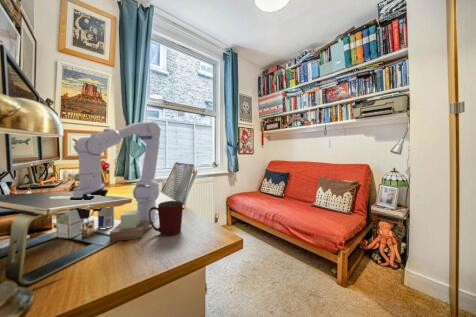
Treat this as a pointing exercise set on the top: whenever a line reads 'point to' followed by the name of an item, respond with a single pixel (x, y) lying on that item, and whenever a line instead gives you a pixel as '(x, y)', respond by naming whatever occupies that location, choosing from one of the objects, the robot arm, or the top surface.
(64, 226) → the syrup box
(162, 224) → the mug
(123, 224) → the sage block
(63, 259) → the top surface
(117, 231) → the walnut base
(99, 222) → the energy drink
